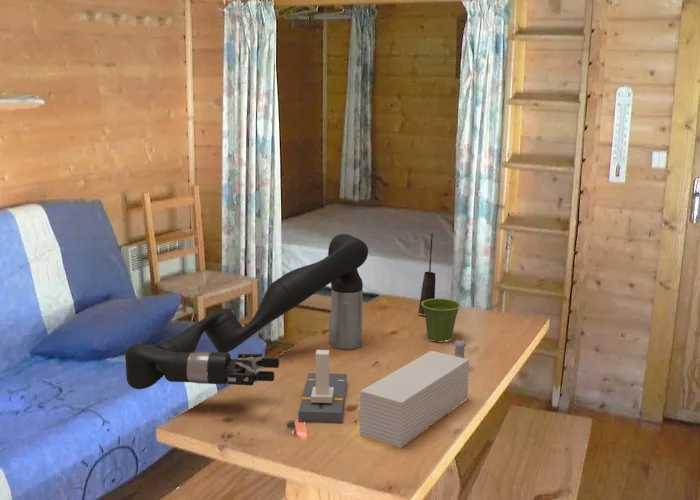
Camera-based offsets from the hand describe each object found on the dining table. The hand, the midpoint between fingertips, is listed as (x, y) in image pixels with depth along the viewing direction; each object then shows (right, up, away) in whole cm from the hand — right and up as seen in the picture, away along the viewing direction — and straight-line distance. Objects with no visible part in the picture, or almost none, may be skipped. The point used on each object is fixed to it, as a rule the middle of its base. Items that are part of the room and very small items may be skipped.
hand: (276, 369), depth 183 cm
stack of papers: (+33, -11, -1) cm, 35 cm away
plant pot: (+45, +1, +53) cm, 70 cm away
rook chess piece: (+47, -4, +29) cm, 56 cm away
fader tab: (+11, -7, +1) cm, 13 cm away
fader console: (+11, -9, +7) cm, 16 cm away
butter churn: (+43, +6, +76) cm, 88 cm away
